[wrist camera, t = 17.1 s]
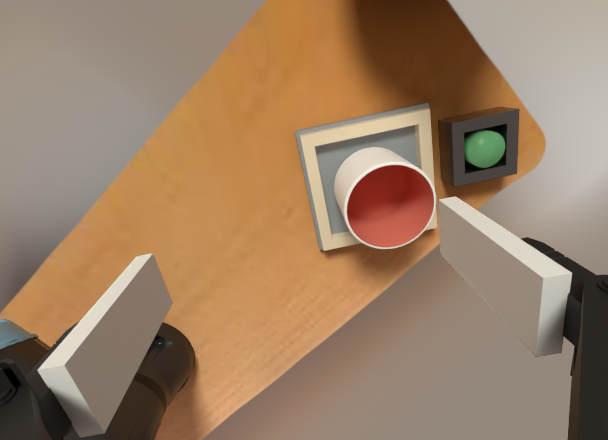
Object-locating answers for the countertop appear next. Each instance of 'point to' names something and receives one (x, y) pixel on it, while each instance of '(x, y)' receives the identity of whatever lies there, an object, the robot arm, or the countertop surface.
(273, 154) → the countertop surface
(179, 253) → the countertop surface
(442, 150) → the dark grey square box
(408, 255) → the countertop surface
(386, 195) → the cup
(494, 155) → the button
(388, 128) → the tray
